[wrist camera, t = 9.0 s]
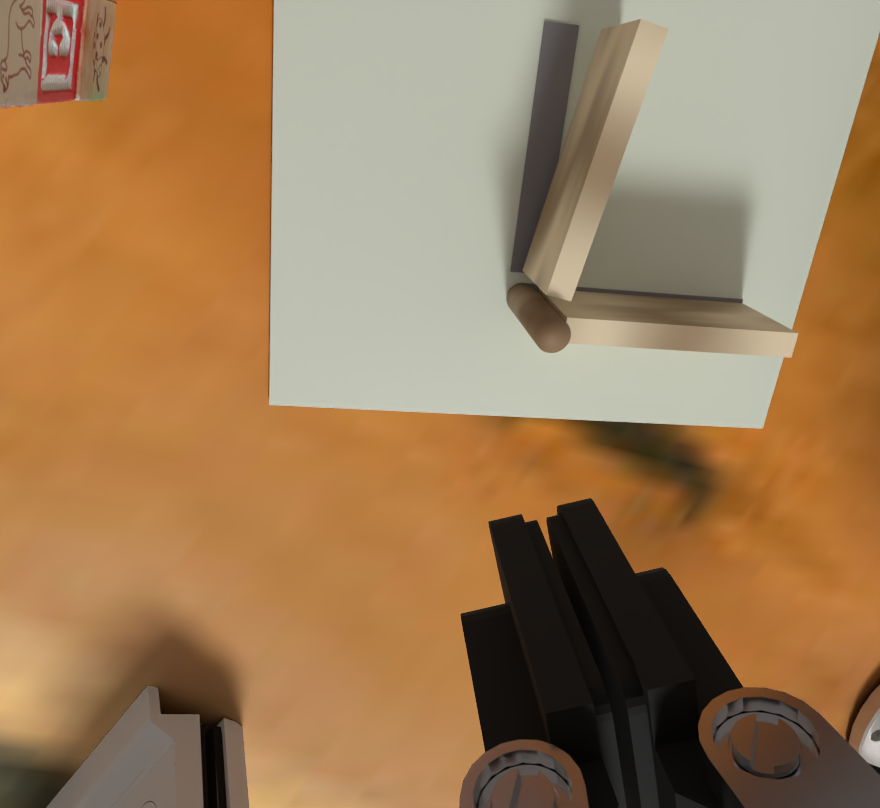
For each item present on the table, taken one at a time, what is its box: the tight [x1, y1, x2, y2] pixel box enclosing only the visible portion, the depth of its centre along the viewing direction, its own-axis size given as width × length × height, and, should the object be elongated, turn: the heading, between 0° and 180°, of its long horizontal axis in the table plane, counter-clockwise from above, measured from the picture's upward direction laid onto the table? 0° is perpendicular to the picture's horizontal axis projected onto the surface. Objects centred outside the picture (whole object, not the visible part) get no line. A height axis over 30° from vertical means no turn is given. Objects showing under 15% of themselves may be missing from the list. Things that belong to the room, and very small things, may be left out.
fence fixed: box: [506, 283, 798, 358], centre depth 27 cm, size 10×1×5 cm, turn 84°
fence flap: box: [523, 19, 668, 301], centre depth 24 cm, size 8×1×4 cm, turn 164°
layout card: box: [269, 0, 880, 428], centre depth 27 cm, size 21×18×1 cm
